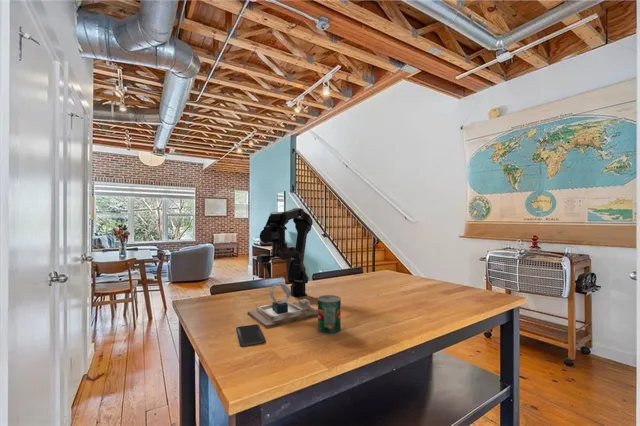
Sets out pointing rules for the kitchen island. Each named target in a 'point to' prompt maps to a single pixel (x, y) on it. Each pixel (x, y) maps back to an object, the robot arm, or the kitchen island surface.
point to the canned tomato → (329, 314)
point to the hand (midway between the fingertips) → (279, 276)
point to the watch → (280, 305)
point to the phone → (250, 335)
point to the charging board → (283, 314)
